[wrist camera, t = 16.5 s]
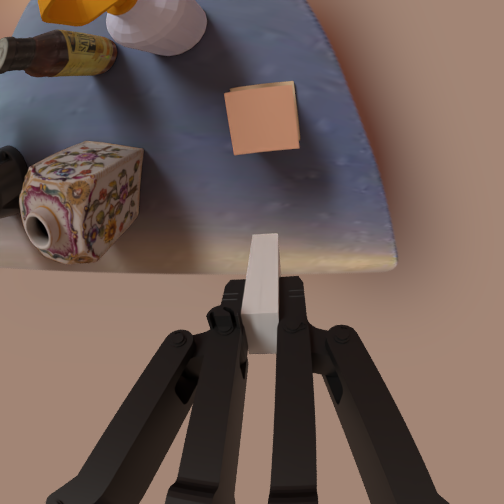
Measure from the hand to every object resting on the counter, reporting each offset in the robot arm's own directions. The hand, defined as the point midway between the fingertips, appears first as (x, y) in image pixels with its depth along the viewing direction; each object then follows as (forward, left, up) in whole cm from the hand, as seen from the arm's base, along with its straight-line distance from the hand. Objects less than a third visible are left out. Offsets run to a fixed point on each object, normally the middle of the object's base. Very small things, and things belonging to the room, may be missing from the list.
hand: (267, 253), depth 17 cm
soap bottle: (-10, +22, -22) cm, 33 cm away
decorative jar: (-25, +2, -23) cm, 34 cm away
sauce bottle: (-22, +22, -22) cm, 38 cm away
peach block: (0, +7, -22) cm, 23 cm away
